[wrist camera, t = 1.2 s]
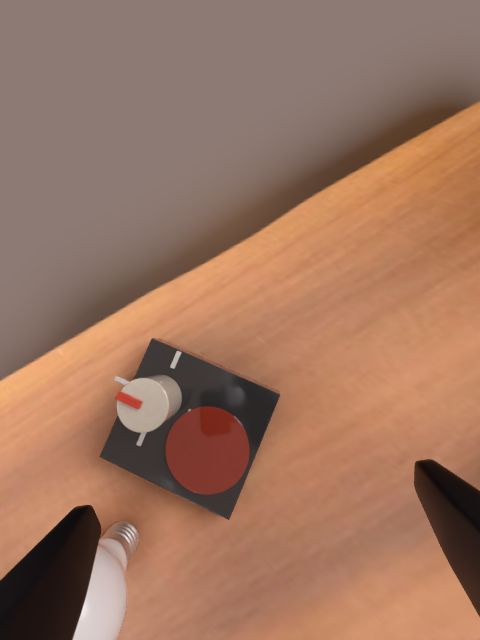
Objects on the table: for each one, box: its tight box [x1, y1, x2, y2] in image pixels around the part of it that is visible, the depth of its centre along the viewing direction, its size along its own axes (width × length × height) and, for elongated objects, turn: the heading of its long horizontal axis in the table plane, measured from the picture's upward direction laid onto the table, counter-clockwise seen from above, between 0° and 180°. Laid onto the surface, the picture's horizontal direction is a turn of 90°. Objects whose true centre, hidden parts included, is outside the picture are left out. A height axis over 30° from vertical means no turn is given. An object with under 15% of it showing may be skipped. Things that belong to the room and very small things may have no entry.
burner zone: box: [166, 406, 250, 495], centre depth 24 cm, size 6×6×1 cm
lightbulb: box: [73, 521, 139, 640], centre depth 21 cm, size 6×6×11 cm
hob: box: [100, 338, 280, 520], centre depth 26 cm, size 10×12×2 cm
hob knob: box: [116, 375, 182, 433], centre depth 23 cm, size 4×4×4 cm
